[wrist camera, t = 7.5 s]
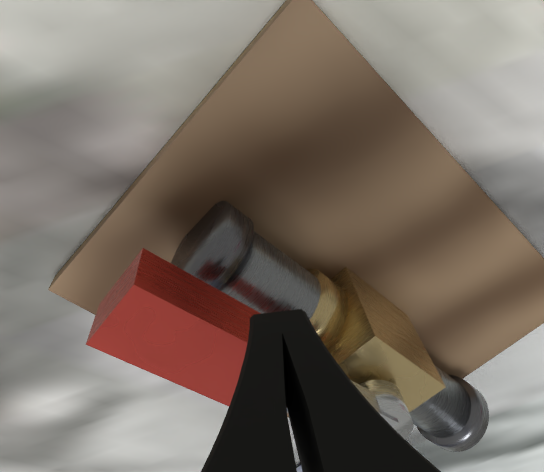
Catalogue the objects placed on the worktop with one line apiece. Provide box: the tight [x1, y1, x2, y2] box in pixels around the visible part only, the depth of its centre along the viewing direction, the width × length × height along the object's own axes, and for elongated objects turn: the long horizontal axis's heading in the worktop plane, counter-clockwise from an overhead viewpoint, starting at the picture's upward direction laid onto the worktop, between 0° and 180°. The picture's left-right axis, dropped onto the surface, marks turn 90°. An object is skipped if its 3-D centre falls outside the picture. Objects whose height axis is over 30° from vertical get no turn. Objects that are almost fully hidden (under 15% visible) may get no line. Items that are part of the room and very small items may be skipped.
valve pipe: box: [171, 201, 489, 452], centre depth 21 cm, size 18×5×5 cm, turn 47°
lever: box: [86, 248, 413, 440], centre depth 16 cm, size 13×3×2 cm, turn 50°
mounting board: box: [48, 0, 544, 417], centre depth 22 cm, size 21×16×1 cm
